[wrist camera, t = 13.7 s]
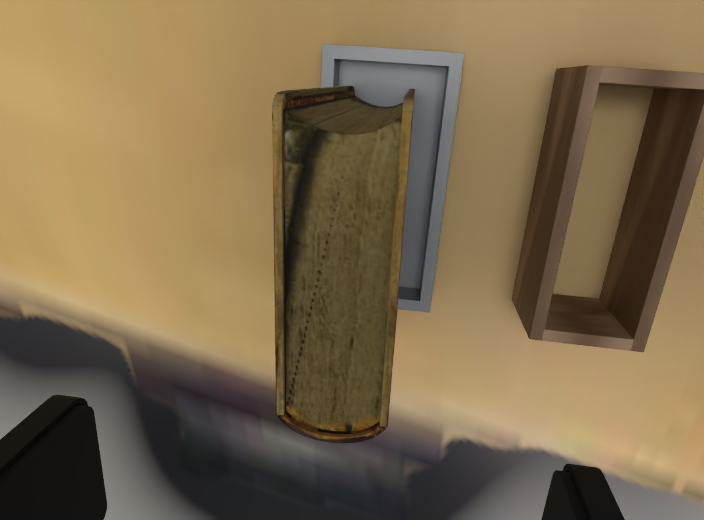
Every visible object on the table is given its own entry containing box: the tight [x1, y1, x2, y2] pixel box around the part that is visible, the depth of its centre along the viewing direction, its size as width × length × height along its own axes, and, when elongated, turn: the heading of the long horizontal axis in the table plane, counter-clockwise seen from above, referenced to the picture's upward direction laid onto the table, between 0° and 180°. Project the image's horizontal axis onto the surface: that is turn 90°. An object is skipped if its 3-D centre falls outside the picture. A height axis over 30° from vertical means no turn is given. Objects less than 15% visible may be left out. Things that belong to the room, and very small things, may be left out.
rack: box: [512, 66, 704, 352], centre depth 41 cm, size 9×21×8 cm, turn 176°
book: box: [272, 86, 415, 443], centre depth 33 cm, size 16×6×25 cm, turn 177°
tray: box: [321, 44, 464, 312], centre depth 44 cm, size 11×22×4 cm, turn 176°
